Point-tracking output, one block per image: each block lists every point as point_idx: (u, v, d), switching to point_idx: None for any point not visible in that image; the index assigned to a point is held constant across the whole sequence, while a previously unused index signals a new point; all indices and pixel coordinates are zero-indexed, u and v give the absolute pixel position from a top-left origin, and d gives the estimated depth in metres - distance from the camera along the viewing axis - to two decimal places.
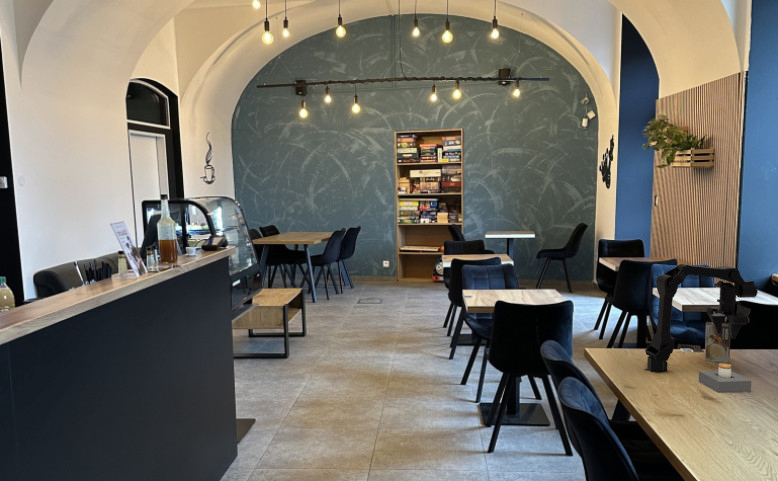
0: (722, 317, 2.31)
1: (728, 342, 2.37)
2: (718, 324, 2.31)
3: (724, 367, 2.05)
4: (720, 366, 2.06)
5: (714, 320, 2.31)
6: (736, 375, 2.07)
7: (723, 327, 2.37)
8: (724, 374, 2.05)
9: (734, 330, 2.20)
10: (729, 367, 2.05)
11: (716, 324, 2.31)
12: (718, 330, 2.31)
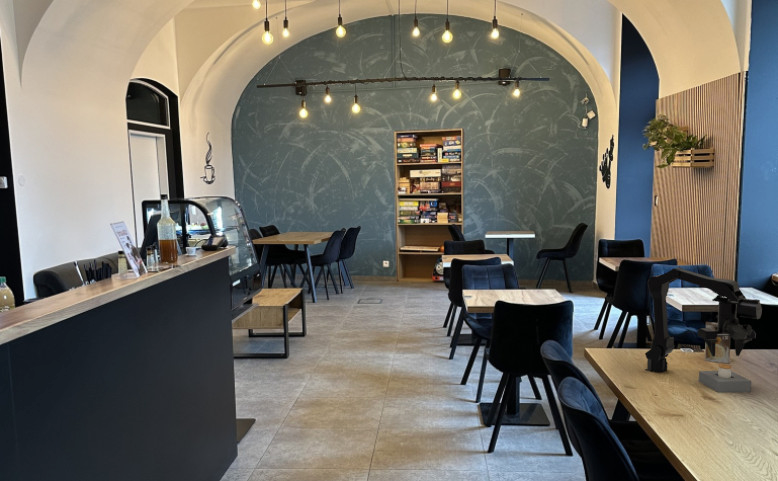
0: (742, 339, 2.05)
1: (728, 342, 2.37)
2: (737, 346, 2.07)
3: (724, 367, 2.05)
4: (720, 366, 2.06)
5: (735, 340, 2.08)
6: (736, 375, 2.07)
7: None
8: (724, 374, 2.05)
9: (709, 346, 2.06)
10: (729, 367, 2.05)
11: (735, 345, 2.07)
12: (736, 352, 2.07)
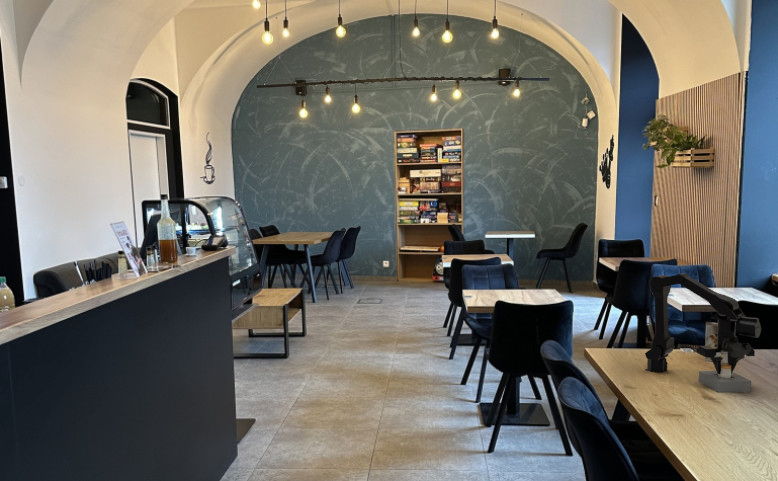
0: (734, 357, 2.05)
1: None
2: (730, 363, 2.07)
3: (724, 367, 2.05)
4: None
5: (728, 358, 2.08)
6: (736, 375, 2.07)
7: None
8: (724, 374, 2.05)
9: (715, 363, 2.07)
10: (729, 367, 2.05)
11: (728, 363, 2.08)
12: None
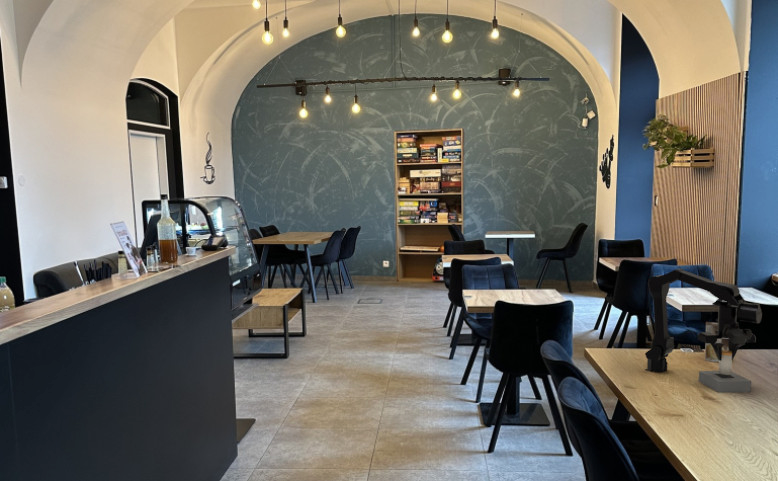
0: (735, 344, 2.04)
1: None
2: (731, 350, 2.06)
3: (725, 354, 2.04)
4: None
5: (729, 344, 2.08)
6: (736, 375, 2.07)
7: None
8: (725, 360, 2.05)
9: (716, 350, 2.06)
10: (730, 353, 2.04)
11: (729, 349, 2.07)
12: None
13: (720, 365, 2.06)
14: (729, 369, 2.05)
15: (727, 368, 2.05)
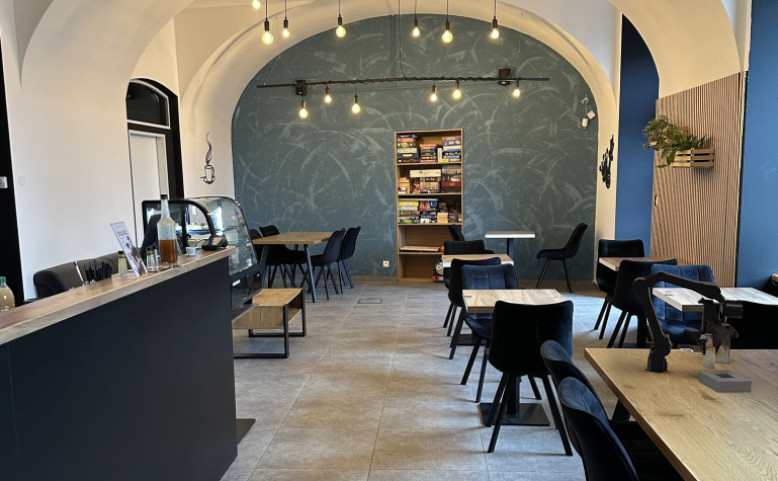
0: (718, 339, 2.16)
1: (728, 342, 2.37)
2: (714, 345, 2.18)
3: (708, 349, 2.16)
4: None
5: (713, 340, 2.19)
6: (736, 375, 2.07)
7: None
8: (708, 355, 2.16)
9: (700, 345, 2.18)
10: (713, 349, 2.15)
11: (713, 345, 2.18)
12: None
13: (704, 359, 2.17)
14: (712, 363, 2.16)
15: (710, 362, 2.16)
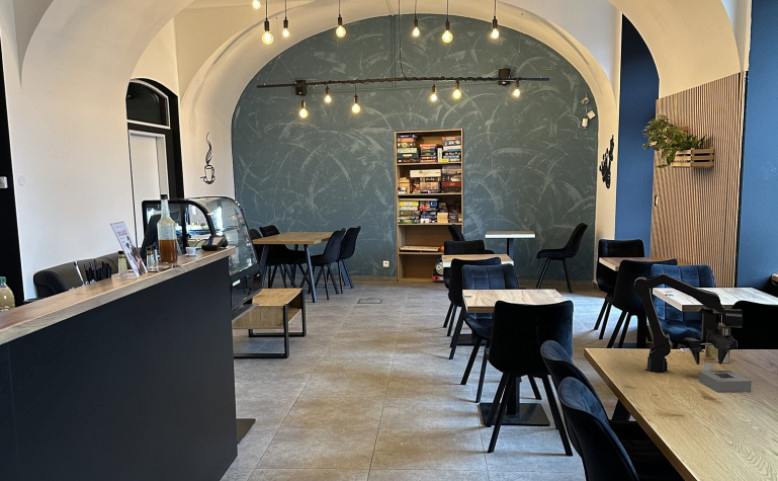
0: (724, 349, 2.16)
1: None
2: (720, 354, 2.18)
3: (708, 361, 2.16)
4: (704, 360, 2.17)
5: (718, 349, 2.19)
6: (736, 375, 2.07)
7: (723, 327, 2.37)
8: (708, 367, 2.16)
9: (694, 354, 2.18)
10: (713, 361, 2.16)
11: (718, 354, 2.19)
12: (719, 360, 2.18)
13: None
14: None
15: None
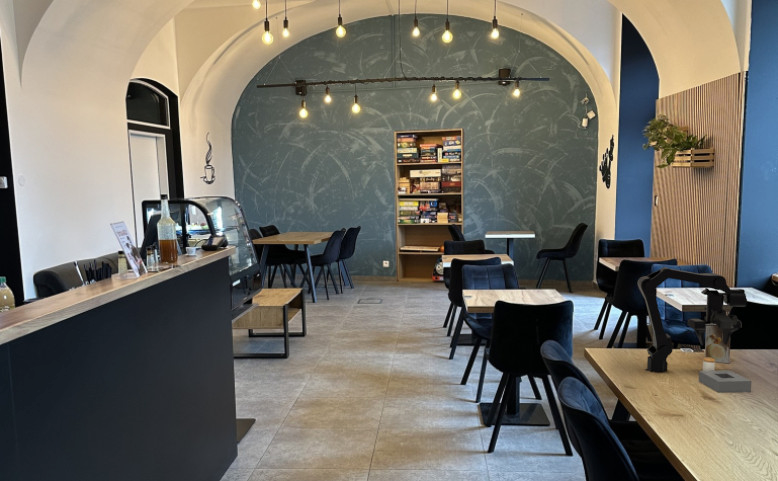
0: (729, 329, 2.19)
1: (728, 342, 2.37)
2: (724, 335, 2.21)
3: (708, 361, 2.16)
4: (704, 360, 2.17)
5: (723, 330, 2.23)
6: (736, 375, 2.07)
7: None
8: (708, 367, 2.16)
9: (698, 335, 2.21)
10: (713, 361, 2.16)
11: (723, 334, 2.22)
12: (723, 341, 2.22)
13: None
14: None
15: None
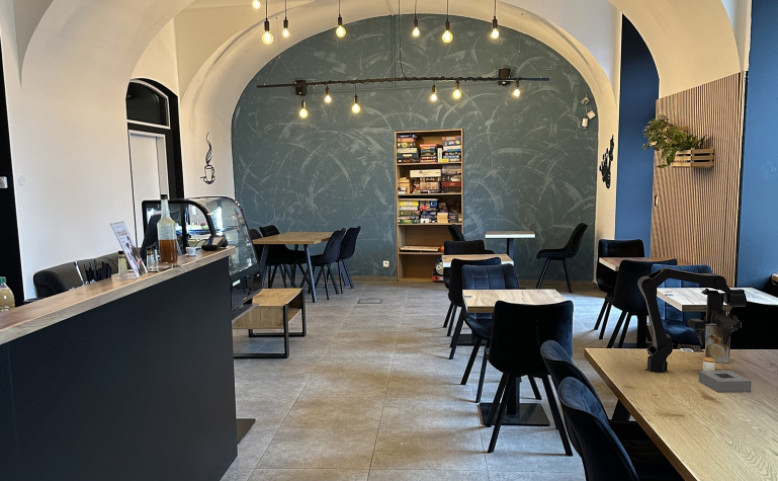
0: (728, 329, 2.19)
1: (728, 342, 2.37)
2: (724, 335, 2.21)
3: (708, 361, 2.16)
4: (704, 360, 2.17)
5: (723, 330, 2.23)
6: (736, 375, 2.07)
7: None
8: (708, 367, 2.16)
9: (698, 335, 2.21)
10: (713, 361, 2.16)
11: (723, 334, 2.22)
12: (723, 341, 2.22)
13: None
14: None
15: None
